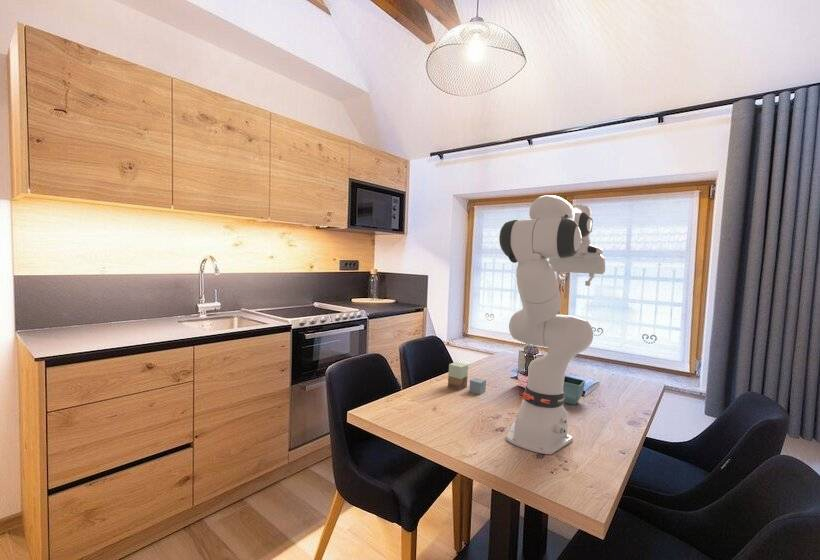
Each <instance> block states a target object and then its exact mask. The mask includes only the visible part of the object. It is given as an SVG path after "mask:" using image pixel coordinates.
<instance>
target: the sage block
mask: <svg viewBox="0 0 820 560" xmlns="http://www.w3.org/2000/svg"><path fill="white" fill-rule="evenodd" d="M468 373H469V364H467V363H463V362H458V361H455V362H452V363H449V364H448V376H451V377H455V378H459V379H462V378H464V377H466V376H467V377H468Z"/></svg>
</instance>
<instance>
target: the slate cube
mask: <svg viewBox="0 0 820 560" xmlns="http://www.w3.org/2000/svg"><path fill="white" fill-rule="evenodd" d="M486 388H487V380H486V379H482V378H477V377H474V378H472V379H469V390H468V392H469V393H473V394H475V393H476V395H479V394H481V395H482V394H484V393H486Z"/></svg>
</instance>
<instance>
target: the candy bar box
mask: <svg viewBox="0 0 820 560" xmlns="http://www.w3.org/2000/svg"><path fill="white" fill-rule="evenodd" d="M537 353H538V352H537ZM542 356H545V354H541V353H540V352H539V353H538V354H536V355H535V357H534V359H536V358H538V357H542ZM517 362H518V363H517V373H516V374H517V375H516V377H517V376H518V373H519V372H521V371H523V370H524V367H525V353H524V349H519V350H518V361H517Z"/></svg>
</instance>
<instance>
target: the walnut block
mask: <svg viewBox="0 0 820 560" xmlns="http://www.w3.org/2000/svg"><path fill="white" fill-rule="evenodd" d="M467 387H468V375H467V376H466V377H464V378H462V379H459V378H455V377H451V376H448V379H447V388H449V389H454V390H457V391H462V390H464V389H467Z"/></svg>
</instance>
